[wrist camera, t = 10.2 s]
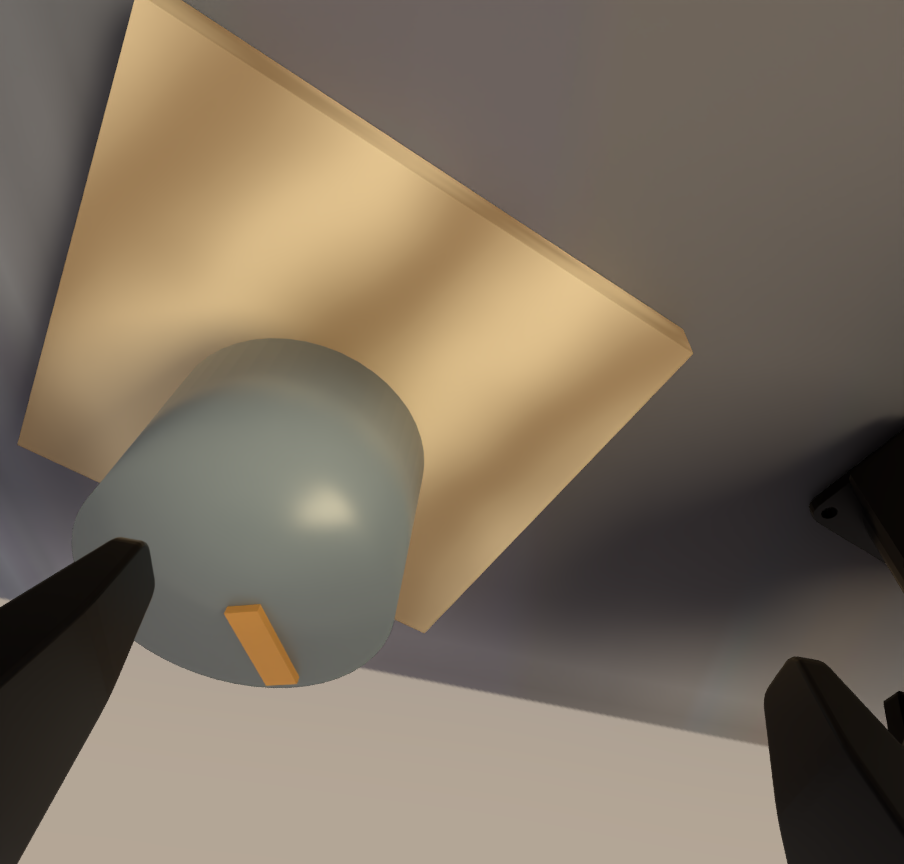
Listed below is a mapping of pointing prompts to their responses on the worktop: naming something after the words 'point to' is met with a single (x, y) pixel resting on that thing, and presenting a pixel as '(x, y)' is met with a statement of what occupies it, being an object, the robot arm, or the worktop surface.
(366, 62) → the worktop surface
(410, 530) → the cap
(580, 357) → the base
